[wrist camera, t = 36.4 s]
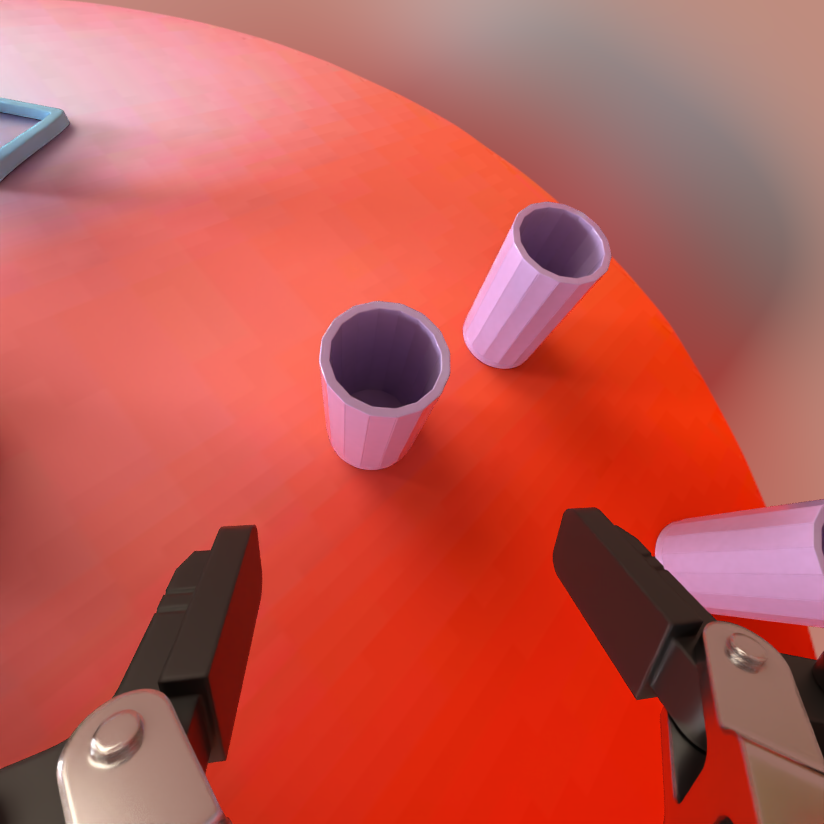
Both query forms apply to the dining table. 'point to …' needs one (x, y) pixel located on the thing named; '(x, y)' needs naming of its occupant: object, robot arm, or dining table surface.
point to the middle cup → (380, 381)
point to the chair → (29, 132)
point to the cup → (535, 282)
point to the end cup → (752, 562)
